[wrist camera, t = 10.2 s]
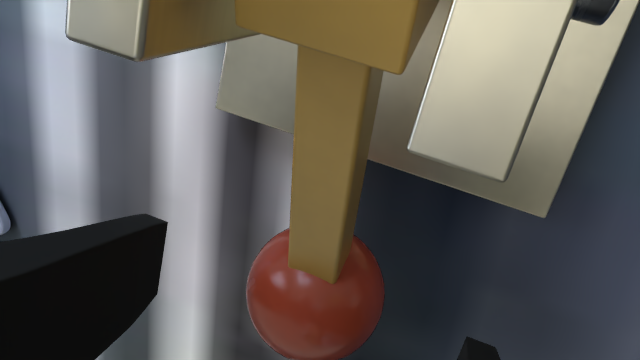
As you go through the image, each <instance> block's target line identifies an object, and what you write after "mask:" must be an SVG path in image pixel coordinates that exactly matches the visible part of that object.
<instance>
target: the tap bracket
mask: <svg viewBox="0 0 640 360" xmlns="http://www.w3.org/2000/svg"><path fill="white" fill-rule="evenodd" d="M639 3H640V0H439V3H438V5H437V7H436V9H435V11H434V13H433V15H432V17H431V19H430V21H429V23H428V25H427V27H426V29H425V31H424V33H423V35H422V37H421V39H420V41H419V43H418V45H417V47H416V49H415V51H414V53H413V55H412V57H411V59H410V61H409V63H408V65H407V67H406V69H405V71H404V72H403V73H402V74H401V75H396V74H392V73H389V72H386V71H384V72H383V77H382V83H381V88H380V93H379V99H378V104H377V109H376V115H375V120H374V126H373V131H372V136H371V142H370V147H369V153H368V158H367V159H369V160H372V161H375V162H378V163H381V164H384V165H387V166H390V167H393V168H396V169H399V170H402V171H405V172H408V173H411V174H414V175H417V176H420V177H422V178H425V179H428V180H431V181H434V182H437V183H440V184H443V185H446V186H449V187H452V188H455V189H458V190H461V191H464V192H467V193H470V194H473V195H476V196H479V197H482V198H485V199H488V200H491V201H494V202H497V203H500V204H503V205H506V206H509V207H512V208H515V209H518V210H521V211H524V212H527V213H530V214H533V215H536V216H539V217H542V218H546V216H547V214H548V212H549V209H550V207H551V205H552V203H553V200H554V198H555V196H556V193H557V191H558V189H559V186H560V184H561V182H562V180H563V177H564V175H565V173H566V170H567V168H568V166H569V163H570V161H571V159H572V157H573V154H574V152H575V150H576V147H577V145H578V143H579V141H580V138H581V136H582V134H583V131H584V129H585V127H586V124H587V122H588V120H589V118H590V115H591V113H592V111H593V108H594V106H595V104H596V101H597V99H598V97H599V95H600V92H601V90H602V88H603V85H604V83H605V81H606V79H607V76H608V74H609V72H610V69H611V67H612V65H613V62H614V60H615V58H616V56H617V53H618V51H619V49H620V46H621V44H622V42H623V40H624V37H625V35H626V33H627V30H628V28H629V26H630V23H631V21H632V19H633V17H634V14H635V12H636V10H637V7H638V5H639ZM65 33H66V37H67V38H68V39H70V40H72V41H74V42H77V43H80V44H83V45H86V46H89V47H92V48H95V49H98V50H101V51H104V52H107V53H110V54H113V55H117V56H120V57H123V58H126V59H129V60H132V61H135V62H140V61H145V60H150V59H154V58H159V57H163V56H168V55H172V54H176V53H181V52H185V51H190V50H194V49H199V48H203V47H207V46H212V45H216V44H221V43H225V42H226V47H225V53H224V59H223V65H222V71H221V77H220V83H219V89H218V95H217V101H216V108H217V109H220V110H223V111H226V112H229V113H232V114H235V115H238V116H241V117H244V118H247V119H250V120H253V121H256V122H259V123H262V124H265V125H268V126H270V127H273V128H276V129H279V130H282V131H285V132H288V133H291V134H294V118H295V96H296V73H297V51H298V45H296V44H293V43H290V42H286V41H283V40H280V39H276V38H273V37H270V36H266V35H263V34H260V33H256V32H253V31H250V30H247V29H243V28H240V27H238V26H237V25H236V20H235V0H67V12H66V29H65Z"/></svg>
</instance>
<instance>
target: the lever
mask: <svg viewBox="0 0 640 360" xmlns="http://www.w3.org/2000/svg"><path fill="white" fill-rule="evenodd" d="M438 3H439V0H235V20H236V25H237V26H238V27H240V28H243V29H247V30H250V31H253V32H256V33H260V34H263V35H266V36H270V37H273V38H276V39H280V40H283V41H286V42H290V43H293V44H296V45H298V51H297V73H296V96H295V118H294V141H293V164H292V186H291V209H290V228H288V229H286V230H284V231H282V232H281V233H279V234H277V235H276V236H274V237H273V238H272V239H271V240H270V241H268V242H267V243H266V244H265V246H264V247H263V248H262V249H261V250H260V252H259V253H258V255H257V256H256V258H255V260H254V262H253V264H252V266H251V269H250V272H249V275H248V279H247V285H246V301H247V308H248V312H249V316H250V319H251V321H252V323H253V325H254V327H255V329H256V331H257V332H258V334H259V335H260V337H261V338H262V339H263V340H264V342H265V343H266V344H267V345H268V346H270V347H271V348H272V349H273V350H274V351H276V352H277V353H279V354H280V355H282V356H284V357H286V358H288V359H291V360H339V359H342V358H344V357H347V356H348V355H350V354H352V353H353V352H355V351H356V350H357V349H359V348H360V347H361V346H362V345H363V344H364V343H365V342H366V341H367V340H368V339H369V337H370V336H371V335H372V333H373V332H374V330H375V329H376V326H377V324H378V322H379V320H380V318H381V314H382V311H383V306H384V298H385V289H384V281H383V276H382V272H381V269H380V267H379V264H378V262H377V260H376V258H375V257H374V255H373V253H372V252H371V250H370V249H369V248H368V247H367V246H366V245H365V244H364V243H363V242H362V241H361V240H360V239H359V238H358V237H357V236H355V235H354V234H353V233H354V228H355V222H356V217H357V212H358V206H359V201H360V196H361V190H362V185H363V179H364V174H365V169H366V163H367V158H368V153H369V147H370V142H371V136H372V131H373V126H374V120H375V115H376V109H377V104H378V99H379V93H380V88H381V83H382V77H383V72H384V71H386V72H389V73H392V74H396V75H401V74H402V73H403V72H404V71H405V69H406V67H407V65H408V63H409V61H410V59H411V57H412V55H413V53H414V51H415V49H416V47H417V45H418V43H419V41H420V39H421V37H422V35H423V33H424V31H425V29H426V27H427V25H428V23H429V21H430V19H431V17H432V15H433V13H434V11H435V9H436V7H437V5H438Z"/></svg>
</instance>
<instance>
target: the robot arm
mask: <svg viewBox="0 0 640 360" xmlns="http://www.w3.org/2000/svg"><path fill="white" fill-rule="evenodd" d="M167 224H168V222H166V221H163V220H161V219H158V218H155V217H153V216H150V215H147V214H139V215H133V216H128V217H123V218H118V219H113V220H109V221H105V222H100V223H96V224H91V225H87V226H82V227H78V228H73V229H69V230H64V231H59V232H54V233H49V234H43V235H38V236H33V237H27V238H22V239H16V240H10V241H2V242H0V360H95V359H96V358H97V357H98V356H99V355H100V354H101V353H103V352H104V351H105V350H106V349H107V348H108V347H109V346H110V345H111V344H112V343H113V342H114V341H115V340H117V339H118V338H119V337H120V336H121V335H122V334H123V333H124V332H125V331H126V330H127V329H128V328H129V327H130V326H131V325H132V324H133V323H134V322H135V321H136V319H137V318H138V317H139V316H140V315H141V314H142V312H143V311H144V310H145V309H146V307H147V306H148V305H149V304H150V302H151V301H152V300H153V299H154V297H155V296H156V295H157V292H158V285H159V278H160V272H161V265H162V258H163V251H164V245H165V238H166V231H167ZM9 229H10V219H9V216H8V214H7V212H6V211H5V209H4V207H3V205H2V203H1V201H0V235H2V234H4V233H6V232H7V231H9ZM457 360H500V357H499V354H498V352H497V350H496V348H495V347H494V346H491V345H488V344H486V343H483V342H480V341H478V340H475V339H473V338H470V337H466V339H465V342H464V344H463V346H462V349H461V351H460V354H459V356H458V359H457Z"/></svg>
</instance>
